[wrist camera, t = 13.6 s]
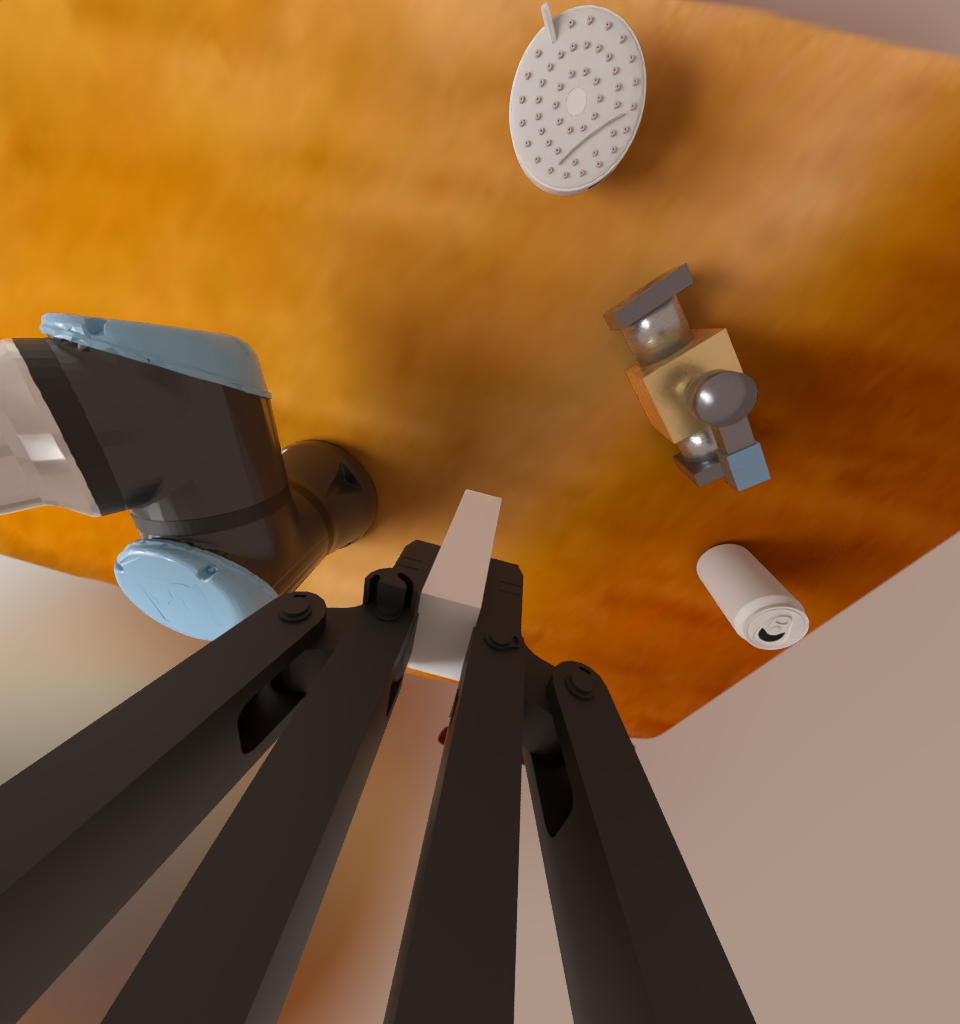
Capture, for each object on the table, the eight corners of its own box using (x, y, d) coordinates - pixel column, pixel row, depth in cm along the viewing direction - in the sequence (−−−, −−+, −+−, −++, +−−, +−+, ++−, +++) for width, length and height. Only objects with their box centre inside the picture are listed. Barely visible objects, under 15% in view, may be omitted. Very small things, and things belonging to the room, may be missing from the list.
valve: (718, 390, 38) (772, 407, 29) (652, 426, 40) (684, 452, 32) (692, 328, 36) (742, 327, 27) (624, 371, 38) (651, 382, 30)
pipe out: (733, 440, 40) (764, 457, 35) (678, 467, 42) (699, 487, 37) (713, 393, 38) (742, 403, 33) (657, 424, 40) (675, 438, 35)
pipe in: (687, 332, 36) (714, 332, 31) (629, 368, 38) (644, 374, 33) (662, 273, 34) (686, 263, 29) (603, 315, 36) (614, 312, 31)
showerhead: (615, -70, 21) (671, 124, 25) (596, 23, 28) (642, 167, 31) (479, 59, 25) (544, 216, 28) (490, 116, 31) (542, 238, 34)
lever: (679, 386, 29) (690, 390, 27) (732, 358, 28) (749, 360, 26) (716, 485, 32) (729, 496, 30) (765, 465, 31) (783, 475, 29)
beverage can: (685, 576, 48) (729, 645, 38) (707, 535, 45) (760, 598, 35) (734, 586, 48) (791, 659, 37) (759, 546, 45) (828, 612, 34)
